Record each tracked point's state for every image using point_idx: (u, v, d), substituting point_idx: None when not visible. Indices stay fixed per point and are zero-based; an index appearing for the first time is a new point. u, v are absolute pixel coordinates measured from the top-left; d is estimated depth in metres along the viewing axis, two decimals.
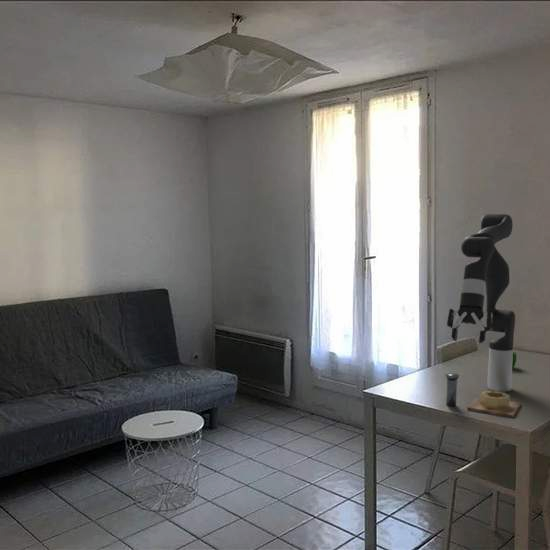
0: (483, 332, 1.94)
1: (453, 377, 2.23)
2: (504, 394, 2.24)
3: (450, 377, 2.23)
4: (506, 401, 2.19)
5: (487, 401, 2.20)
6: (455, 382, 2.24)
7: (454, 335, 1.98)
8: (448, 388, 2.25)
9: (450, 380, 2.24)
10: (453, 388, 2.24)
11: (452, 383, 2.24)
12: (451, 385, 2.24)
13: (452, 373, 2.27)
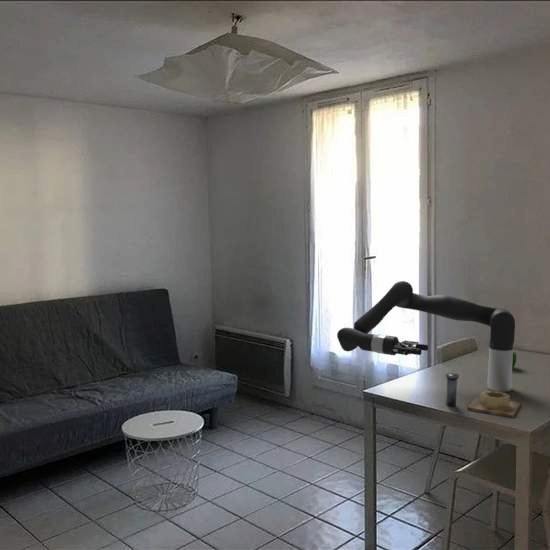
0: (411, 353, 2.27)
1: (453, 377, 2.23)
2: (504, 394, 2.24)
3: (450, 377, 2.23)
4: (506, 401, 2.19)
5: (487, 401, 2.20)
6: (455, 382, 2.24)
7: None
8: (448, 388, 2.25)
9: (450, 380, 2.24)
10: (453, 388, 2.24)
11: (452, 383, 2.24)
12: (451, 385, 2.24)
13: (452, 373, 2.27)
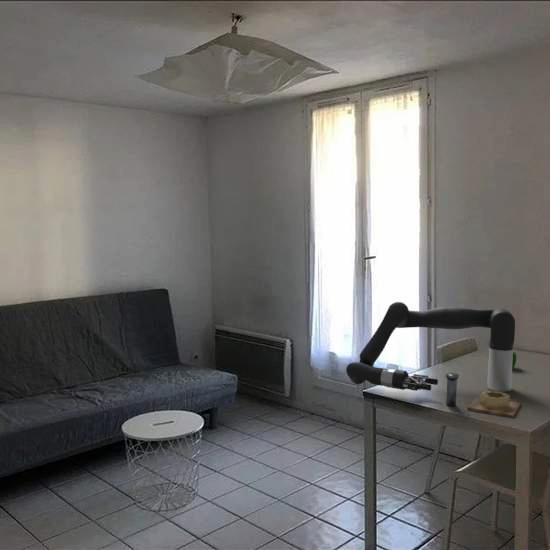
0: (421, 388, 2.27)
1: (453, 377, 2.23)
2: (504, 394, 2.24)
3: (450, 377, 2.23)
4: (506, 401, 2.19)
5: (487, 401, 2.20)
6: (455, 382, 2.24)
7: None
8: (448, 388, 2.25)
9: (450, 380, 2.24)
10: (453, 388, 2.24)
11: (452, 383, 2.24)
12: (451, 385, 2.24)
13: (452, 373, 2.27)
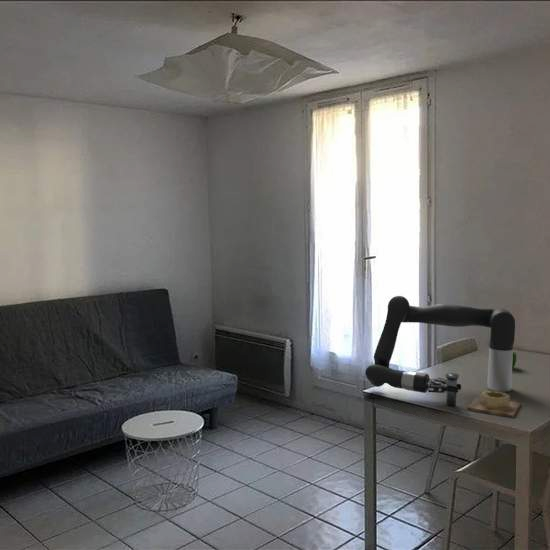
0: (448, 390, 2.24)
1: (453, 377, 2.23)
2: (504, 394, 2.24)
3: (450, 377, 2.23)
4: (506, 401, 2.19)
5: (487, 401, 2.20)
6: (455, 382, 2.24)
7: None
8: None
9: (450, 380, 2.24)
10: None
11: (453, 383, 2.24)
12: (452, 385, 2.24)
13: (452, 373, 2.27)
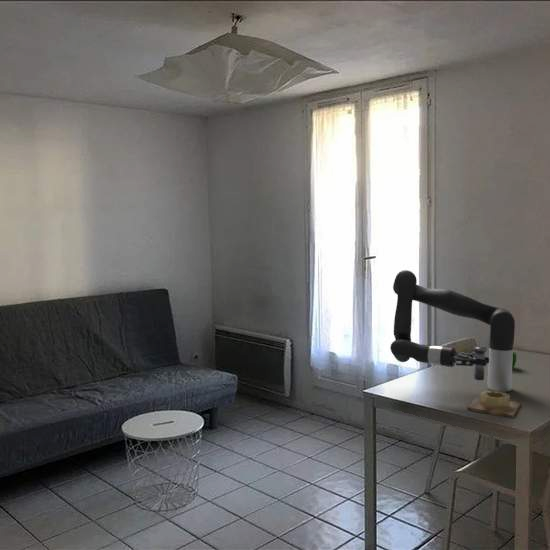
0: (476, 363, 2.21)
1: (481, 350, 2.20)
2: (504, 394, 2.24)
3: (478, 350, 2.20)
4: (506, 401, 2.19)
5: (487, 401, 2.20)
6: (483, 355, 2.21)
7: None
8: None
9: (478, 353, 2.21)
10: None
11: (481, 356, 2.21)
12: (480, 358, 2.21)
13: (480, 346, 2.24)
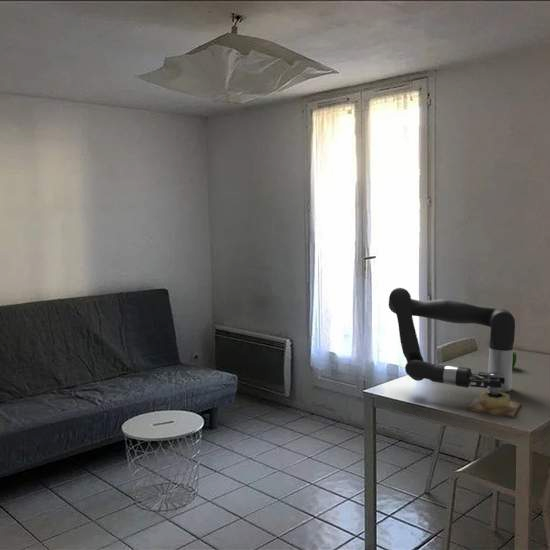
0: (491, 385, 2.20)
1: (495, 376, 2.20)
2: (504, 394, 2.24)
3: (492, 377, 2.20)
4: (506, 401, 2.19)
5: (487, 401, 2.20)
6: None
7: None
8: (490, 388, 2.22)
9: (492, 380, 2.21)
10: (496, 388, 2.21)
11: None
12: None
13: (493, 372, 2.24)
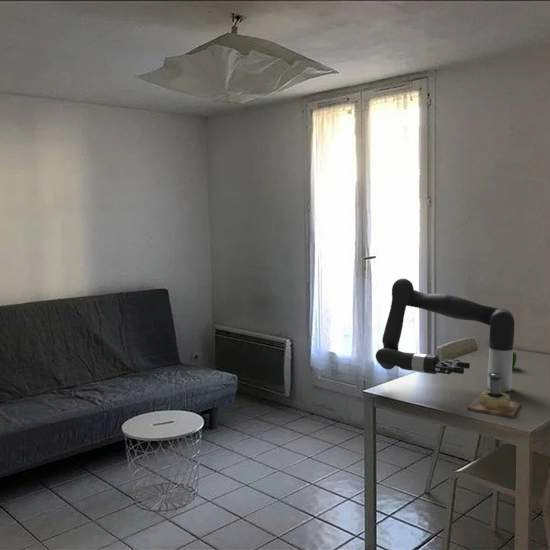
0: (454, 372, 2.26)
1: (497, 376, 2.20)
2: (504, 394, 2.24)
3: (494, 376, 2.21)
4: (506, 401, 2.19)
5: (487, 401, 2.20)
6: (499, 381, 2.21)
7: None
8: (491, 388, 2.22)
9: (493, 380, 2.21)
10: (496, 388, 2.21)
11: (496, 382, 2.21)
12: (495, 384, 2.21)
13: (495, 372, 2.24)
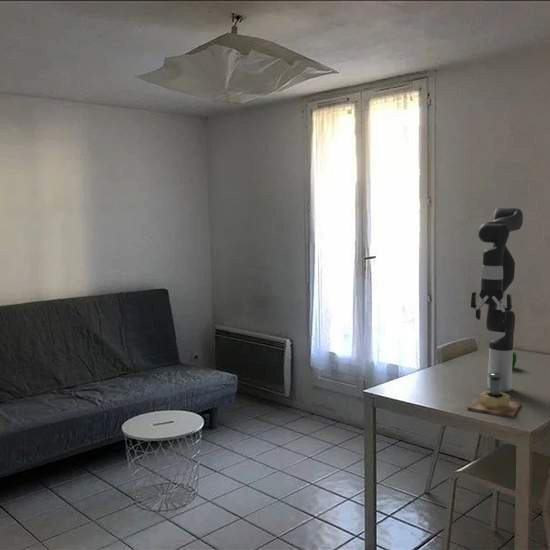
0: (504, 312, 2.18)
1: (497, 376, 2.20)
2: (504, 394, 2.24)
3: (493, 376, 2.21)
4: (506, 401, 2.19)
5: (487, 401, 2.20)
6: (498, 381, 2.21)
7: (478, 315, 2.23)
8: (491, 388, 2.22)
9: (493, 380, 2.21)
10: (496, 388, 2.21)
11: (496, 382, 2.21)
12: (495, 384, 2.21)
13: (495, 372, 2.24)
